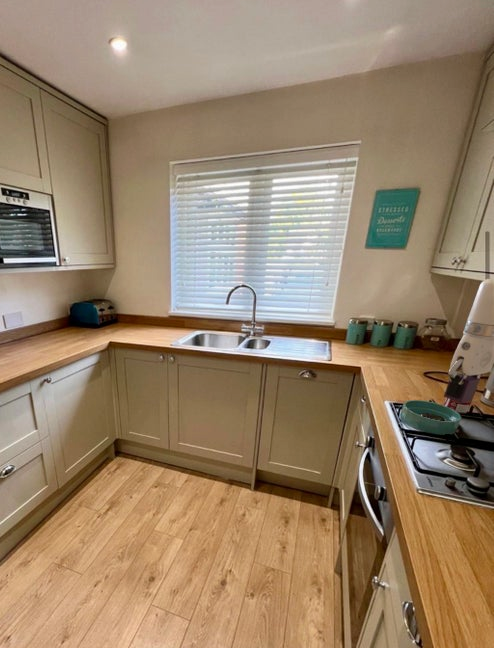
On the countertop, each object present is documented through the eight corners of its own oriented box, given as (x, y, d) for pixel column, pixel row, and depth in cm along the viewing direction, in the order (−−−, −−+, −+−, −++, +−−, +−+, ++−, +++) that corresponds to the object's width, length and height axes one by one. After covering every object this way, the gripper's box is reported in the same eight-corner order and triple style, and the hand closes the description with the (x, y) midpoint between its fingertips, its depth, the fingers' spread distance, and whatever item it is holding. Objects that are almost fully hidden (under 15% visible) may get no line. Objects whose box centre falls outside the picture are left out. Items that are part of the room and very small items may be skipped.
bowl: (439, 415, 112) (443, 402, 111) (466, 438, 99) (472, 424, 97) (391, 411, 115) (395, 398, 113) (412, 433, 101) (417, 419, 99)
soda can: (469, 416, 112) (483, 384, 107) (446, 413, 114) (458, 381, 110) (462, 408, 118) (474, 377, 113) (440, 405, 120) (451, 374, 115)
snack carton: (454, 394, 94) (462, 373, 91) (471, 401, 90) (480, 378, 87) (443, 396, 92) (451, 374, 90) (460, 403, 88) (469, 380, 86)
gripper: (479, 335, 77) (452, 405, 84) (521, 331, 83) (493, 396, 90) (445, 328, 84) (424, 393, 91) (487, 324, 90) (463, 386, 97)
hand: (458, 394), depth 90 cm, fingers closed on snack carton, 4 cm apart
